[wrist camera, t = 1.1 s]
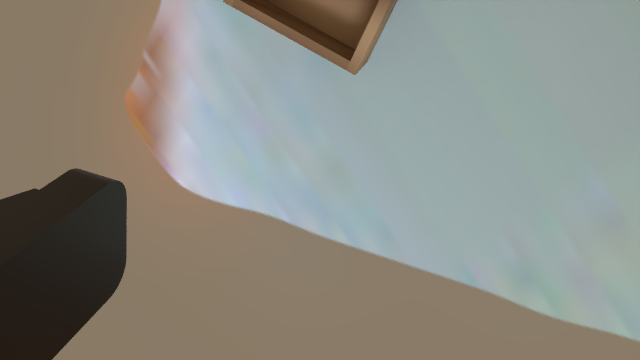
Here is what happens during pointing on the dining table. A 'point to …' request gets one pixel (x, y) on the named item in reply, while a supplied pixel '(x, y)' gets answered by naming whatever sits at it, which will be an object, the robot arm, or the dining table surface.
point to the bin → (325, 25)
